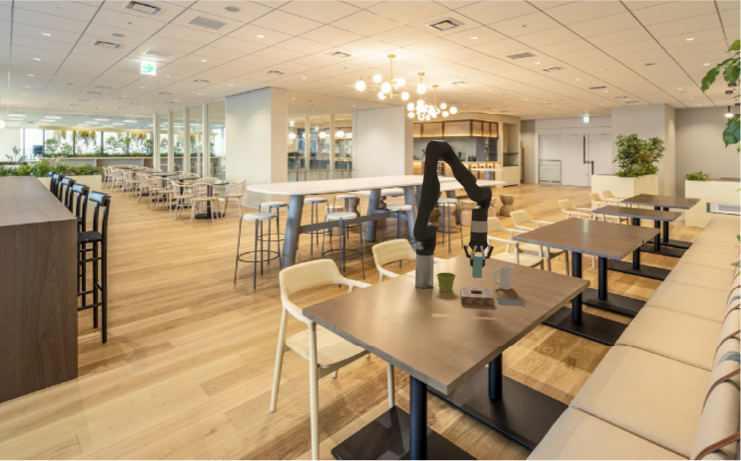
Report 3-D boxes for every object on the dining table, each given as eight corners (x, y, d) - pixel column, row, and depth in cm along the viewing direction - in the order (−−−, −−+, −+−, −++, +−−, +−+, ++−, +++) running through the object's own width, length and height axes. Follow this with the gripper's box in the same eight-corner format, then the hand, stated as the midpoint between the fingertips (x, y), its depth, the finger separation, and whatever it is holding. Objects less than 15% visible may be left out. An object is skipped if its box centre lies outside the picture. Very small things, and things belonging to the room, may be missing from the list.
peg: (472, 277, 183) (473, 256, 181) (472, 275, 187) (473, 254, 185) (481, 278, 182) (482, 256, 180) (480, 275, 186) (481, 254, 184)
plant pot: (455, 295, 195) (455, 278, 194) (435, 294, 197) (436, 277, 196) (455, 289, 204) (455, 272, 203) (436, 288, 206) (436, 272, 205)
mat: (498, 306, 180) (498, 304, 179) (495, 298, 190) (495, 296, 190) (524, 308, 178) (524, 306, 177) (520, 299, 188) (520, 297, 188)
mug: (508, 286, 207) (509, 264, 205) (514, 291, 201) (515, 268, 199) (489, 287, 206) (490, 265, 204) (494, 291, 200) (495, 268, 198)
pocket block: (461, 305, 181) (461, 296, 180) (460, 295, 195) (460, 286, 194) (493, 307, 179) (493, 298, 178) (490, 297, 192) (490, 288, 191)
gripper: (463, 231, 178) (461, 268, 181) (496, 232, 176) (494, 269, 179) (462, 228, 186) (461, 264, 189) (494, 229, 183) (492, 265, 186)
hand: (477, 266), depth 184 cm, fingers closed on peg, 4 cm apart
